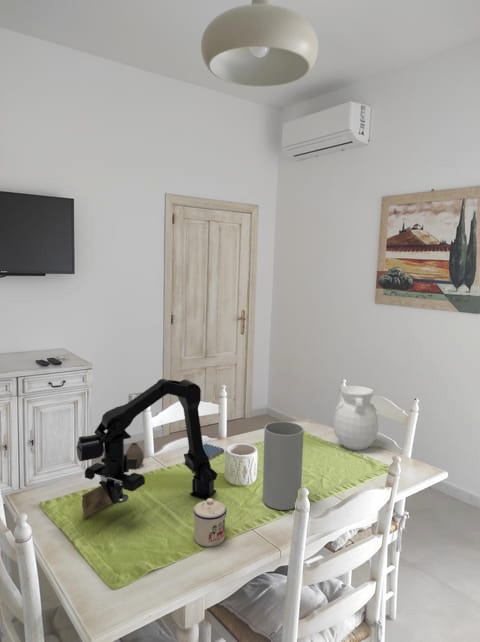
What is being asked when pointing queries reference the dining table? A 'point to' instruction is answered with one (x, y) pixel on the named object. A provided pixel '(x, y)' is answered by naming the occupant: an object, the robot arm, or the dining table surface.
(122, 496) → the hinge pin
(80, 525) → the dining table surface
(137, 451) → the vase
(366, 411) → the pitcher
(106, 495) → the brown wooden plank
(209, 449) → the woven mat
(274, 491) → the cylinder vase
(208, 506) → the teacup with lid
